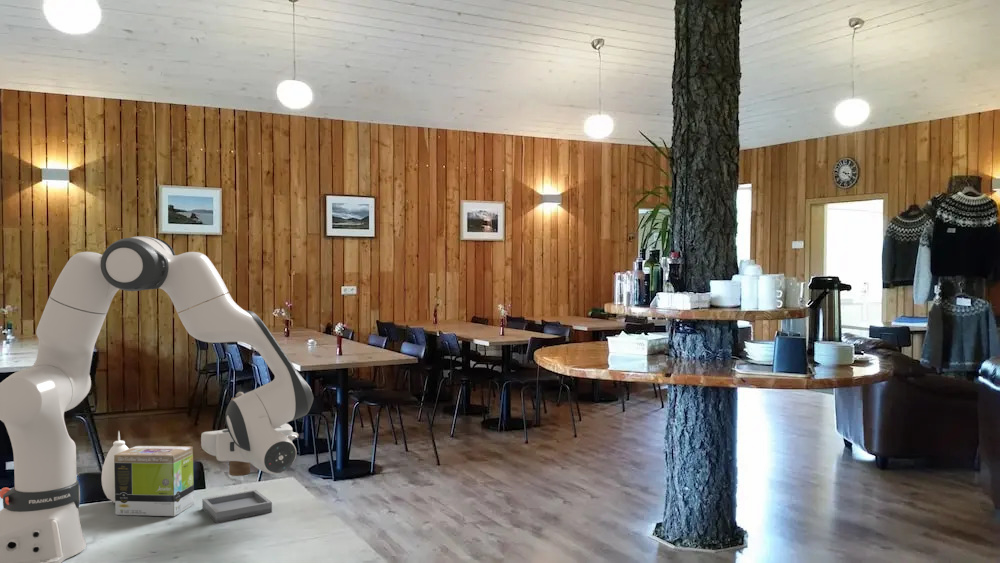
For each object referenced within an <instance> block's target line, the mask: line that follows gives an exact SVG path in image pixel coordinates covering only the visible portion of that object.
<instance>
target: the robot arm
mask: <svg viewBox="0 0 1000 563" xmlns="http://www.w3.org/2000/svg"><path fill="white" fill-rule="evenodd" d="M159 289H161V290H163V291H164V293H166V294H167V295H168V297H169V298H170V300H171V302H172V305H173V306H174V308H175V311H176V313H177V316H178V318H179V319H180V321H181V323H182V325H183V327H184V328H185V330H186V332H187V333H188V335H189V336H191V337H192V338H194V339H196V340H198V341H200V342H204V343H213V344H216V343H235V342H236V343H237V342H239V343H247V344H248V345H251V346H253V347H254V348H255V349H256V350H257V352H258V353H259V355H260V356H261V358H262V359H263V360H264V362H265V364H266V365H267V367H268V368H269V369H270V371H271V372H272V374H273V375H274V378H273V380H271V381H269V382H268V383H266V384H263V385H261V386H258V387H257V388H255V389H253V390H250V391H247V392H245V393H244V394H243V395H241V396H239V397H237V398H235V397H234V398H235V399H233V400H230V401H229V403H228V404H227V407H226V410H225V415H224V420H225V421H224V422H225V426H226V428H223V429H220V430H212V431H211V430H210V431H209V430H208V431H204V432H201V435H200V436H201V437H200V442H201V443H200V446H201V449H202V450H203V451H204V452H205V453H207V455H208V454H209V455H210V456H213V457H216V460H217V461H218V462H229V461H240V462H246V463H250V465H252V466H253V467H254V468H256V469H258V470H259V471H261V472H264V473H266V474H268V475H278V474H281V473H284V472H286V471H288V470H289V469H290V468H291V467H292V465H293V464H294V462H295V460H296V458H297V448H296V446H295V444H294V443H293V440H295V439H296V438H297V439H298V438H299V436H300V435H299V433H298V432H296V431H295V432H294V431H293V427H292V426H291V425H290V424H289V422H292V421H295V420H297V419H298V420H299V419H300V418H302V417H305V416H307V415H308V413H309V412H310V410H311V407H312V405H313V403H314V394H313V392H312V389H311V386H310V385H309V384H308V382H307V381H306V380H305V379H304V378H303V376H302V375H301V374H300V373H299V371H298V370H297V369H296V368H295V366H294V365H293V363H292V361H291V360H290V359H289V357H288V356H287V354H286V353H285V351H284V350H283V348H282V347H281V345H280V344H279V342H278V340H276V338H275V336H274V335H273V334H272V333H271V331H270V330H269V328H268V327H267V325H266V324H265V323H264V321H263V320H262V319H261V318H260V317H259V316H258V315H257V313H255V312H254V311H252V310H245V309H243V308H242V307H241V306H240V305H238V304H237V302H236V301H234V299H233V297H232V296H231V294H230V292H229V289H228V288H227V286H226V283H225V281H224V280H223V278H222V276H221V275H220V273H219V271H218V269H216V267H215V265H214V263H213V262H212V261H211V259H210V258H209V257H208V256H207V255H206V254H205V253H202V252H199V251H187V252H182V253H180V254H177V255H176V253H175V251H174V249H173V247H172V246H171V245H170V244H169V243H168V242H166V241H165V240H162V238H161V239H160V238H157V237H152V236H145V235H138V236H131V237H124V238H121V239H118V240H116V241H114V242H113V243H111V244H110V245H108V246H107V248H106V249H105V250H104V252H103V253H102V254H101V253H98V252H95V251H82V252H77V253H75V254H73V255H72V256H71V257H70V258H69V260H68V261H67V262H66V264H65V265H64V266H63V269H62V270H61V272H60V273H59V275H58V277H57V279H56V281H55V284H54V286H53V287H52V289H51V292H50V294H49V296H48V299H47V302H46V304H45V307H44V309H43V312H42V314H41V317H40V319H39V322H38V325H37V327H36V331H35V334H36V337H37V339H38V347H37V354H36V359H35V362H34V364H33V365H32V366H30V367H29V368H26V369H25V368H23V369H21V370H17V371H16V372H15V371H14V373H12V374H10V375H9V376H8V377H6V378H5V379H3V380H2V381H1V382H0V421H1V422H2V423H3V424H4V426H5V428H6V432H7V434H8V436H9V440H10V443H11V448H12V453H13V469H14V471H13V472H14V487H12V488H11V489H10V488H9V487H7V486H6V487H3V488H1V490H0V498H1V499H2V506H3V508H2V509H0V563H62V562H64V561H65V560H67V559H69V558H71V557H73V556H75V555H78V554H80V553H81V552H83V551H84V550H85V549H86V548H87V544H88V543H87V542H86V539H85V537H84V534H83V529H82V526H81V519H80V512H79V507H80V503H81V491H80V490H81V489H80V488H81V486H80V481H79V480H78V478H77V446H76V442H75V441H74V440H73V439H72V438H71V436H70V435H69V432H68V429H67V426H66V421H65V412H67V411H70V410H72V409H74V408H75V407H77V406H78V405H80V404H81V402H82V401H83V400H84V399H85V398H86V397H87V396H88V394H89V392H90V390H91V388H92V380H91V379H92V378H91V375H90V373H91V366H92V361H93V355H94V351H95V350H94V349H95V346H96V342H97V341H98V337H99V334H100V332H101V330H102V327H103V325H104V322H105V319H106V317H107V314H108V312H109V310H110V306H111V303H112V301H113V299H114V297H115V295H116V294H117V292H118V291H119V290H121V291H125V292H140V291H148V290H159Z"/></svg>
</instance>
